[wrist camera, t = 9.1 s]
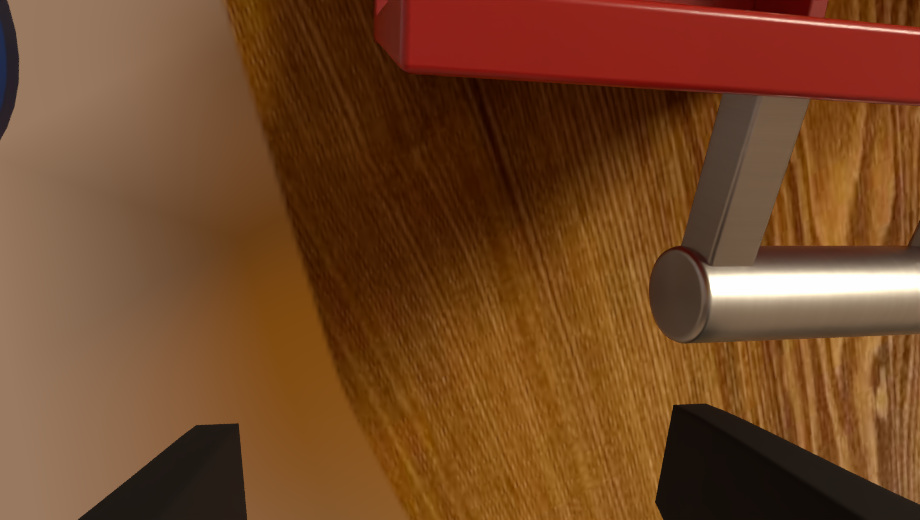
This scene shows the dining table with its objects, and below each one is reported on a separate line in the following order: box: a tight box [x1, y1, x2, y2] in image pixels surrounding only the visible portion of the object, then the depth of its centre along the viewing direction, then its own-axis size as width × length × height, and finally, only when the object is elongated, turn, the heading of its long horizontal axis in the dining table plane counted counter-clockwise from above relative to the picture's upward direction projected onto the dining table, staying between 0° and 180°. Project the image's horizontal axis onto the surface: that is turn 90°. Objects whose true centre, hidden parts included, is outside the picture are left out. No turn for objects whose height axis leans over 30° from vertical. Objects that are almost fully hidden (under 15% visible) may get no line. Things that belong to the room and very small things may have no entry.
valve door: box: [375, 0, 920, 343], centre depth 10 cm, size 10×13×4 cm
